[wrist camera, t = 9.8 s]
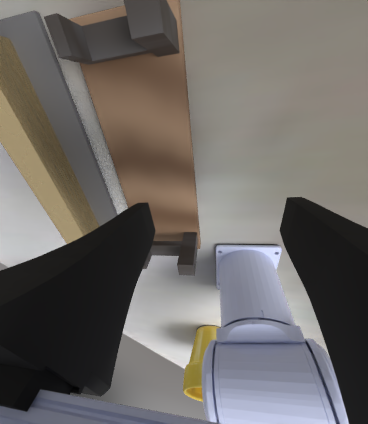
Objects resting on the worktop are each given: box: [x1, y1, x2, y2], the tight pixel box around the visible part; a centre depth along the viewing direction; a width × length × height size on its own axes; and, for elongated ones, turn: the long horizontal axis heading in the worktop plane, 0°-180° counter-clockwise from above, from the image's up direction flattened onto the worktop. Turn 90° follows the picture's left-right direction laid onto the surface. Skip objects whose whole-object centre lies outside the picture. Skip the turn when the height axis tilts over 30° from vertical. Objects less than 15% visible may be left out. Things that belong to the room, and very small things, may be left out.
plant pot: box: [183, 326, 220, 401], centre depth 33 cm, size 10×10×10 cm
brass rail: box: [0, 36, 100, 244], centre depth 19 cm, size 22×3×3 cm, turn 7°
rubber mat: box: [0, 11, 117, 226], centre depth 20 cm, size 24×9×1 cm, turn 7°
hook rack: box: [44, 0, 201, 276], centre depth 16 cm, size 22×8×6 cm, turn 7°
